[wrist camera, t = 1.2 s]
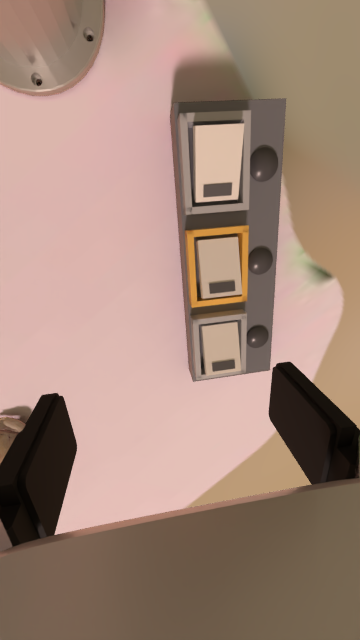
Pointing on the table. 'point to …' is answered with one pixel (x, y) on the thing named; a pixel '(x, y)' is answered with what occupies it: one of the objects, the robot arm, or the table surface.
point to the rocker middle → (219, 267)
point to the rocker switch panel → (232, 226)
